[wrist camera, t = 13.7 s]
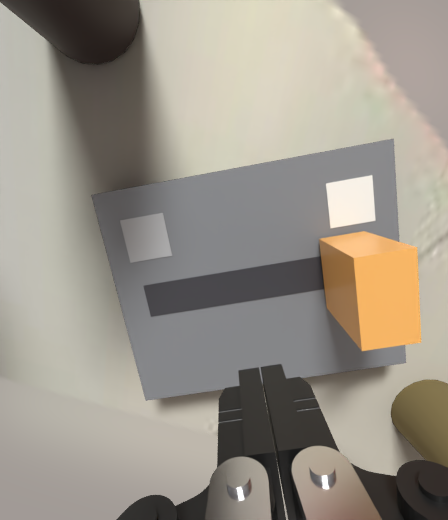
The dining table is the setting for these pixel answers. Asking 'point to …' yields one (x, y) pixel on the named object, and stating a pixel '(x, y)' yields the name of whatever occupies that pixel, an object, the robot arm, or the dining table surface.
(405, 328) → the knob
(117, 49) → the bottle
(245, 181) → the panel
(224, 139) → the dining table surface
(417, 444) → the olive pawn
